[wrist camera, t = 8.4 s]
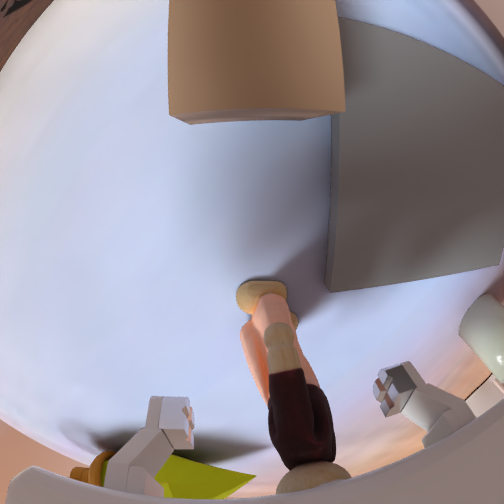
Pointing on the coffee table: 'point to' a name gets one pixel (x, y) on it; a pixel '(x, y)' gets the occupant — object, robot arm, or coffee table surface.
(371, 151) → the slate mat
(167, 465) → the plumb bob
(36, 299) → the coffee table surface
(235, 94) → the walnut block
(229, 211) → the coffee table surface
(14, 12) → the tissue box cover
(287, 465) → the grandmother figurine
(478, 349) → the sage green capsule
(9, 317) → the coffee table surface
